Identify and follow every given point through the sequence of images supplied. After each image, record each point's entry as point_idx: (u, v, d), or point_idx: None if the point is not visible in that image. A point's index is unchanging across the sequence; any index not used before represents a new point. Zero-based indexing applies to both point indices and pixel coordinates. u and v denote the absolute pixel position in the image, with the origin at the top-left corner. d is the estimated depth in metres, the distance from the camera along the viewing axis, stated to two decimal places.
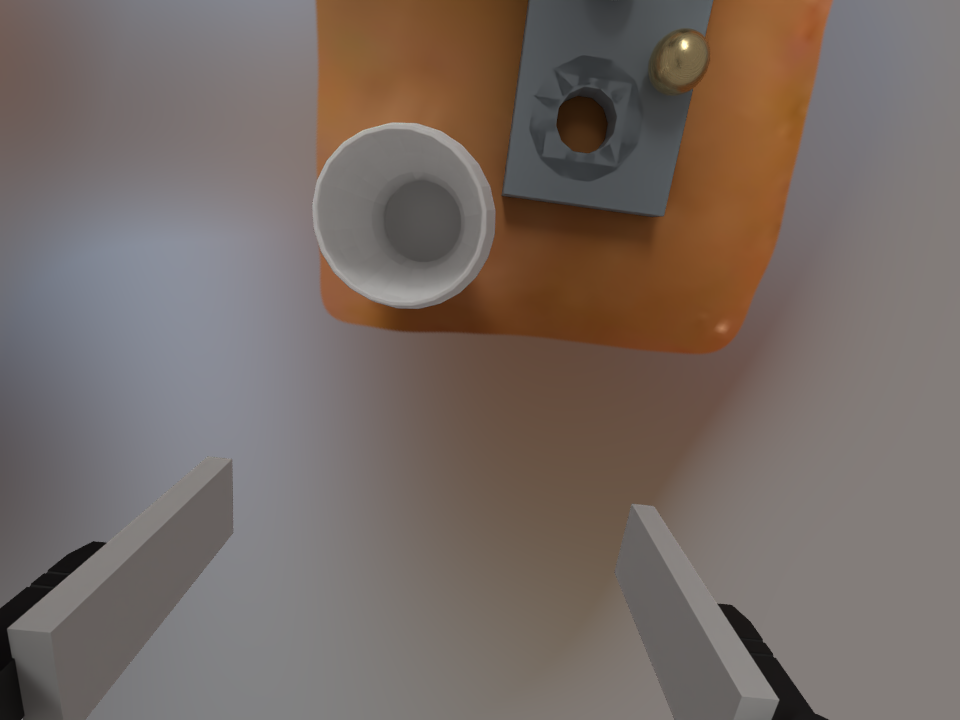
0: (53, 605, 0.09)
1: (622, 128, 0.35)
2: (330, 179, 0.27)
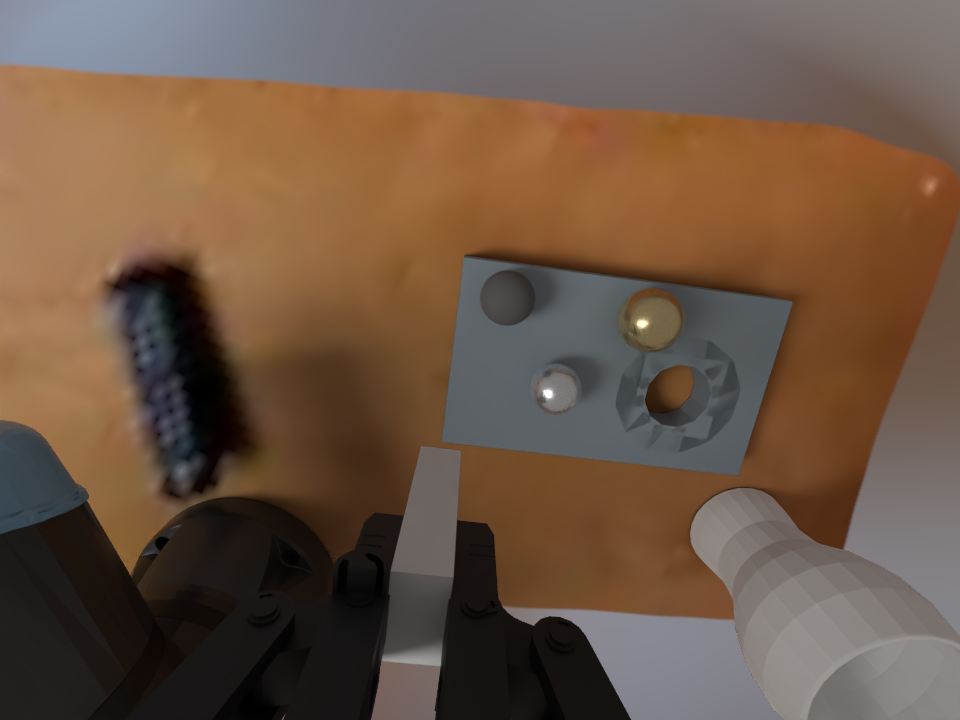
0: (407, 555, 0.11)
1: (690, 358, 0.32)
2: None
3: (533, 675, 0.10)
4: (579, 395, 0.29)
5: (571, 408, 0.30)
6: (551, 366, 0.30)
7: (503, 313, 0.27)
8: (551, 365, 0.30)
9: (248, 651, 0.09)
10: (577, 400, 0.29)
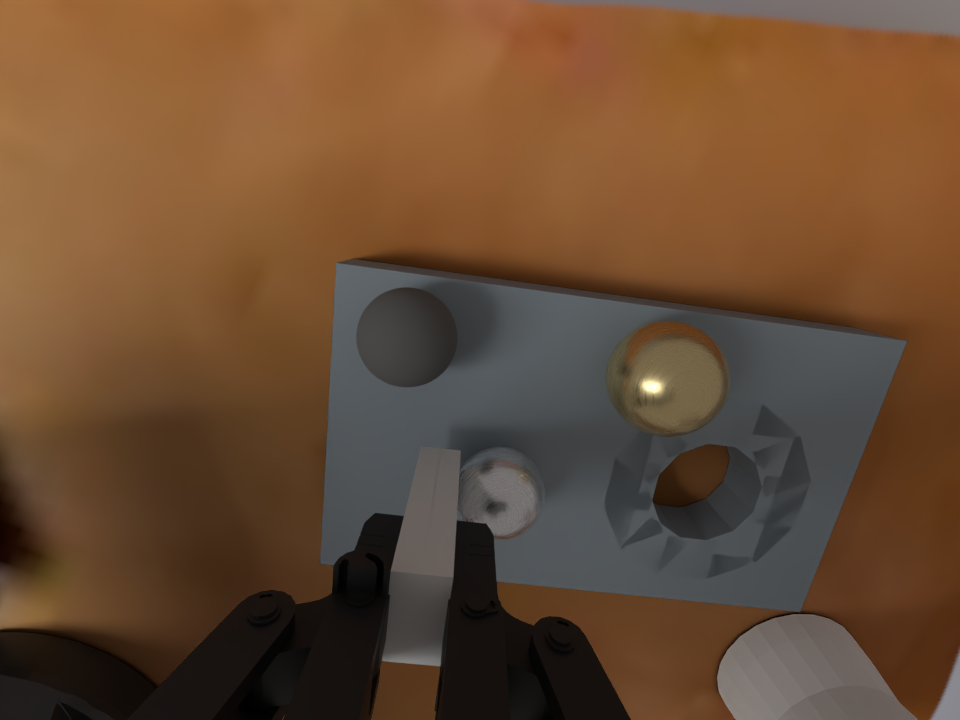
0: (407, 555, 0.11)
1: (729, 433, 0.19)
2: None
3: (533, 675, 0.10)
4: (539, 508, 0.17)
5: (525, 531, 0.17)
6: (490, 455, 0.17)
7: (390, 369, 0.15)
8: (491, 453, 0.17)
9: (248, 651, 0.09)
10: (535, 517, 0.17)
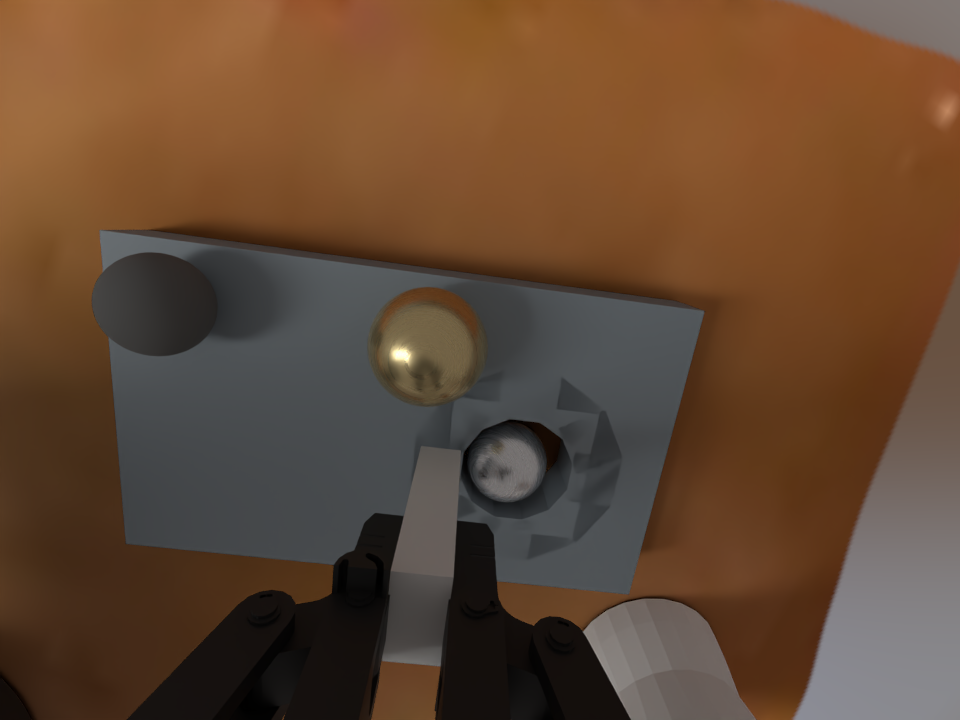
0: (407, 555, 0.11)
1: (531, 407, 0.18)
2: None
3: (533, 675, 0.10)
4: (519, 482, 0.18)
5: (506, 497, 0.19)
6: (497, 425, 0.20)
7: (117, 334, 0.14)
8: (500, 423, 0.20)
9: (248, 651, 0.09)
10: (515, 489, 0.18)
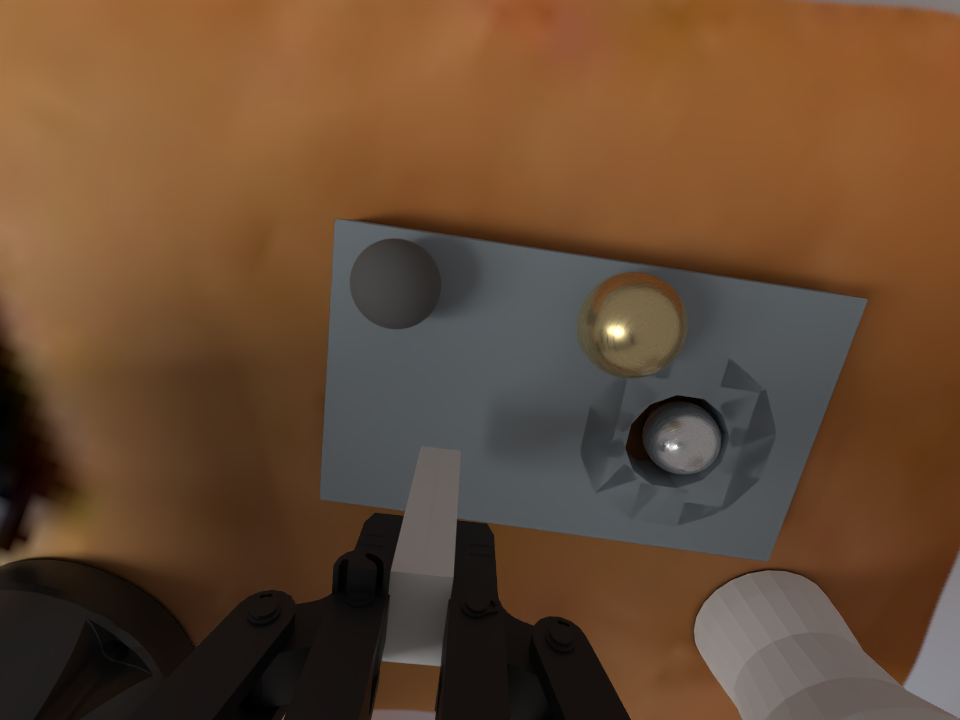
0: (407, 555, 0.11)
1: (697, 385, 0.20)
2: None
3: (533, 675, 0.10)
4: (716, 454, 0.21)
5: (701, 469, 0.21)
6: (679, 406, 0.21)
7: (378, 308, 0.16)
8: (679, 405, 0.21)
9: (248, 651, 0.09)
10: (712, 460, 0.21)
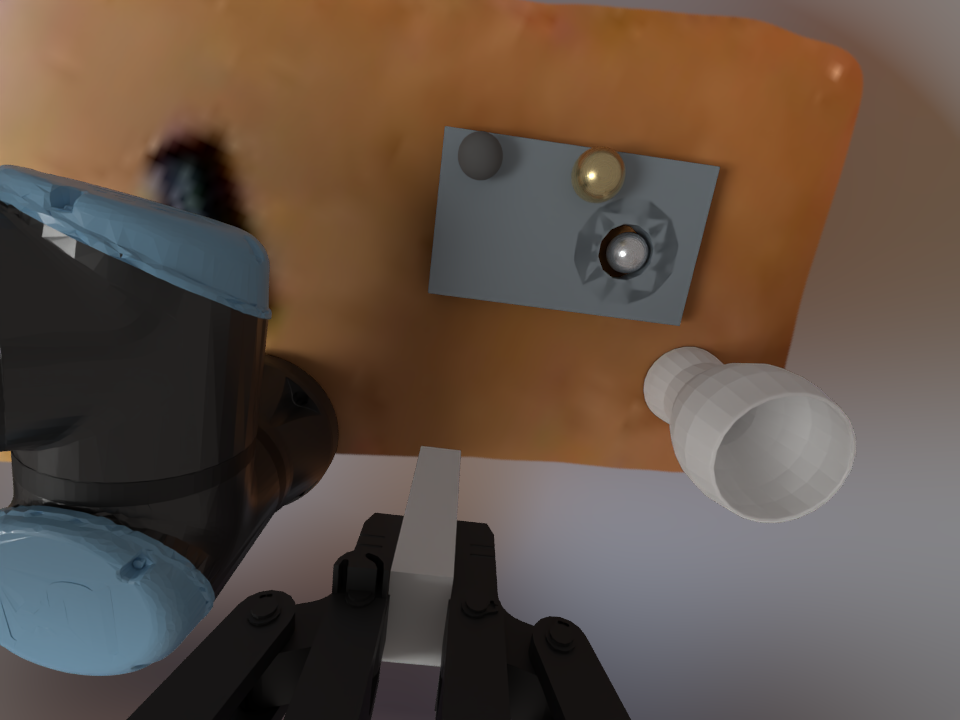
0: (407, 555, 0.11)
1: (635, 217, 0.38)
2: None
3: (533, 675, 0.10)
4: (643, 255, 0.38)
5: (636, 265, 0.39)
6: (624, 233, 0.39)
7: (475, 162, 0.34)
8: None
9: (248, 651, 0.09)
10: (641, 259, 0.38)
